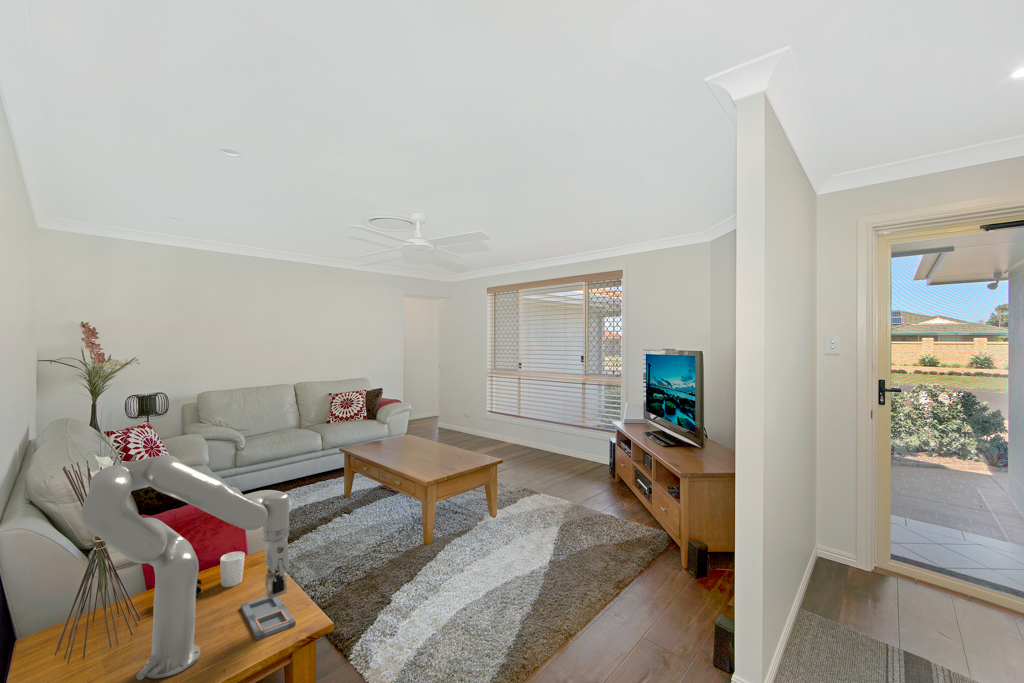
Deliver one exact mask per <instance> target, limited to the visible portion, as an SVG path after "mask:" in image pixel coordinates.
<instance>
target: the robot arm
mask: <svg viewBox="0 0 1024 683" xmlns="http://www.w3.org/2000/svg"><path fill="white" fill-rule="evenodd" d="M149 487H151V488H152V489H153V490H156V491H157V492H159V493H162V494H165V495H167V496H169V497H172V498H174V499H177V500H179V501H182V502H185V503H186V504H189V505H190V506H194V507H196V508H197V509H199V510H201V511H203V512H205V513H207V514H210V515H211V516H214V517H216V518H218V519H219V520H222V521H223V522H225V523H228V524H230V525H233V526H235V527H237V528H240V529H243V530H245V531H255V530H259V529H260V528H262V541H263V542H265V544H264V561H265V565H266V566H267V574H268V573H271V572H273V577H274V581H273V584H272V593H273V594H276V593H279V592H282V591H283V590H284V572H285V569H286V570H288V569H289V568H290V558H289V556H290V555H289V554H290V553H289V543H288V537H289V536H290V496H289V494H288V493H286V492H274V493H270V494H267V495H260V496H247V497H243V496H242V495H240V494H238V493H236V492H235V491H234V490H232V489H230V488H229V487H228V486H227V485H226V484H224V483H223V482H221V480H219V479H217V478H215V477H213V476H211V475H208V474H206V473H204V472H201V471H199V470H197V469H194V468H193V467H191V466H189V465H186V464H184V463H182V462H181V461H180V459H179V458H177V457H176V456H173V455H169V454H167V455H166V454H165V455H164V454H163V455H157V456H152V457H147V458H142V459H138V460H133V461H127V462H122V463H116V464H112V465H108V466H107V467H104V468H102V469H100V470H99V471H97V472H96V473H94V475H93V476H92V478H91V480H90V483H89V488H88V493H87V495H86V497H85V499H84V502H83V504H82V508H81V519H82V523H83V525H84V526H85V527H86V529H87V530H88V531H89V532H90V533H92V534H93V535H95V536H96V537H97V538H99V539H100V540H102V541H103V542H105V543H106V544H107V545H108V546H110V547H111V548H112V549H114V550H116V551H117V552H118V553H120V554H121V555H122V556H124V557H125V558H126V559H127V560H128V561H130V562H133V563H136V564H149V565H150V566H152V567H153V571H154V577H155V578H154V581H155V584H154V596H153V607H152V608H153V611H152V613H153V617H152V637H151V656H149V657H148V660H147V661H146V662H145V664H144V666H143V668H142V669H141V670H140V671H139V672H138V673H136V675H135V676H136V677H135V678H136V679H137V680H138V681H140V680H143V679H144V678H146V677H147V678H149V679H163V678H168V677H171V676H173V675H176V674H179V673H181V672H184V671H185V670H186V669H188V668H189V667H191V666H192V665H194V663H196V661H197V660H198V659H199V657H200V655H201V648H200V646H199V645H197V644H195V629H196V628H195V626H196V625H195V624H196V605H197V604H196V602H197V600H196V599H197V598H196V586H198V583H197V578H198V576H199V569H200V568H199V567H200V566H199V560H198V556H197V554H196V552H195V550H194V548H193V546H192V544H191V543H190V542H189V540H188V539H186V538H185V537H183V536H182V535H180V533H178V532H177V531H175V530H174V529H173V528H171V527H170V526H168V525H167V524H166V523H165V522H163V521H162V520H160V519H158V518H155V517H143V516H142V515H140V514H139V513H137V512H136V511H135V510H133V509H132V508H130V507H129V506H128V503H127V501H128V499H129V497H130V495H131V493H132V492H133V491H138V490H141V489H145V488H149ZM278 572H279V574H278V575H277V576H276V573H278ZM198 579H199V578H198Z"/></svg>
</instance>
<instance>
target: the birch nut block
mask: <svg viewBox="0 0 1024 683" xmlns="http://www.w3.org/2000/svg"><path fill="white" fill-rule="evenodd" d="M278 574H279V572H278V573H276V576H277V575H278ZM264 578H265V579H264V580H265V581H264V582H265V584H264V590H265V591H264V593H265V595H266V596H268V598H269V599H271V598H274V597H277V596H279V597H280V596H282V595H285V594H287V573H286V572H285V571H284V590H283V591H282V592H279V593H276V594H273V593H272V584H273V581H274V577H273V572H271V573H268V572H267V573H265V576H264Z"/></svg>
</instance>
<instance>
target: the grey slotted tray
mask: <svg viewBox="0 0 1024 683" xmlns="http://www.w3.org/2000/svg"><path fill="white" fill-rule="evenodd" d="M240 609H241V612H242V613H243V615H244V617H245V620H246V622H247V623H248V625H249V628H250V629H251V631H252V633H253V636H254V637H255V639H256V641H258V640H261V639H263V638H267V637H269V636H272V635H274V634H277V633H279V632H282V631H284V630H288V629H290V628H292V627H295V626H296V624H297V623H296V620H295V618H294V617H293V615H292V614H291V612H290V611H289V609H288V608H287V606H286V605H285V603H284V602H283V601H282V599H281V598H280V596H277V597H274V598H271V599H269V598H268V596H267V595H266V596H263V597H259V598H257V599H253V600H251V601H248V602H245V603H241V604H240Z"/></svg>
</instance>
